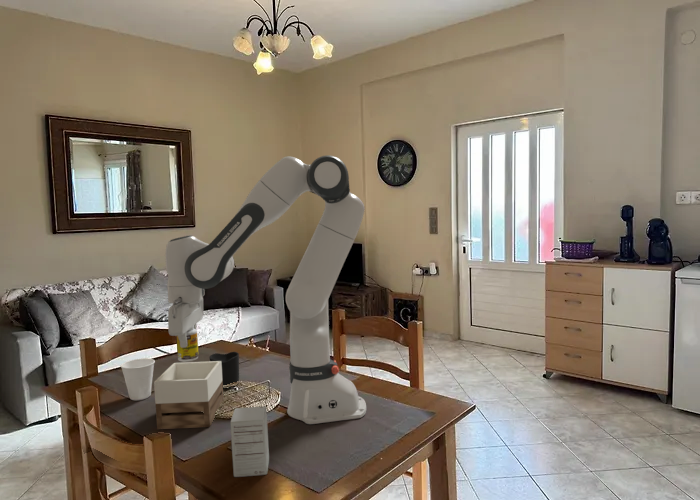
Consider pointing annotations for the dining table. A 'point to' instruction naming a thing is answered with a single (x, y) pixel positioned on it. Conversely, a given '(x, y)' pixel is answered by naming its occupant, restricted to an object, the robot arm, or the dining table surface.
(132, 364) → the cup
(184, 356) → the supplement bottle
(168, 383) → the upper crate
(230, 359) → the pen holder
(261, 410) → the supplement box
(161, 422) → the lower crate
